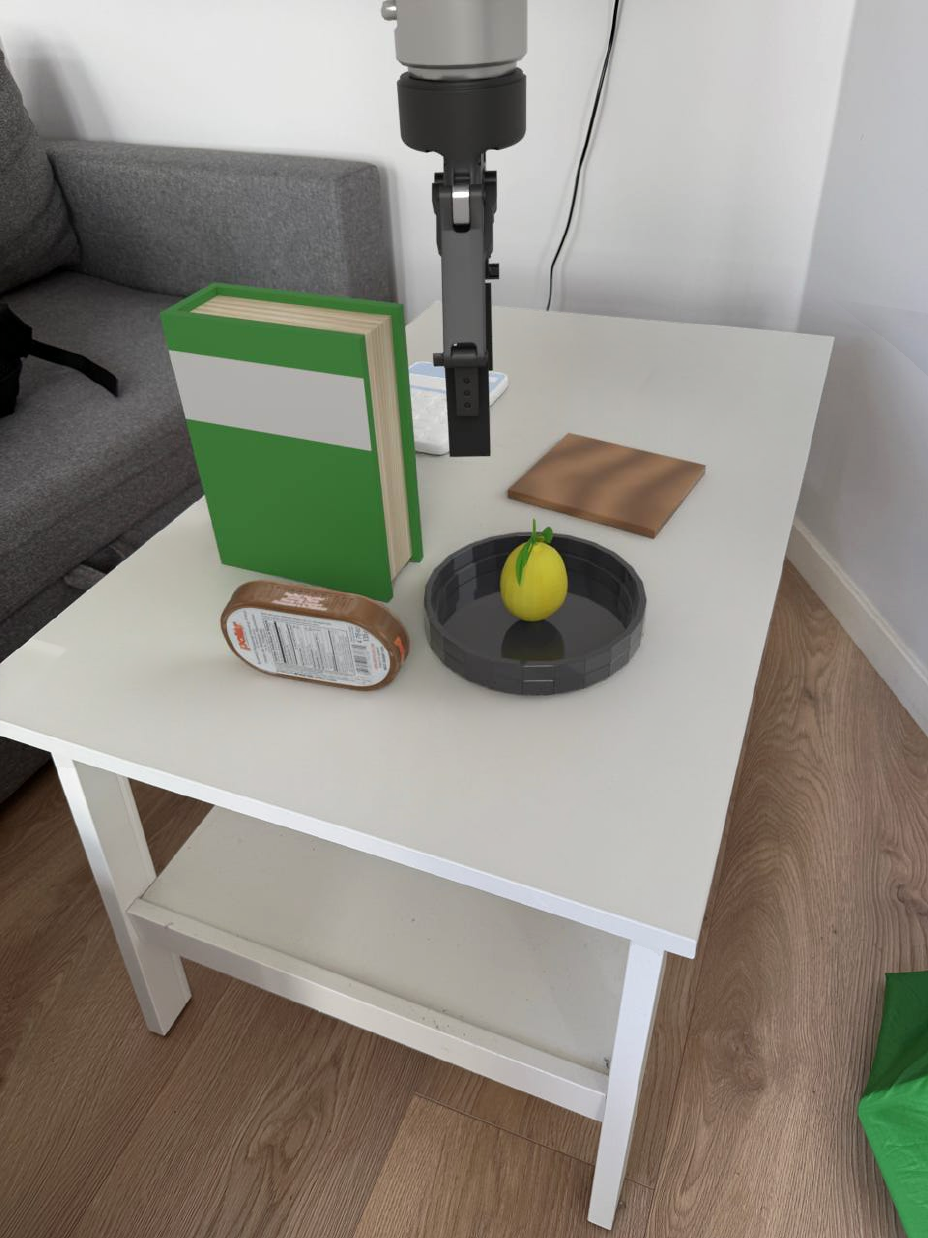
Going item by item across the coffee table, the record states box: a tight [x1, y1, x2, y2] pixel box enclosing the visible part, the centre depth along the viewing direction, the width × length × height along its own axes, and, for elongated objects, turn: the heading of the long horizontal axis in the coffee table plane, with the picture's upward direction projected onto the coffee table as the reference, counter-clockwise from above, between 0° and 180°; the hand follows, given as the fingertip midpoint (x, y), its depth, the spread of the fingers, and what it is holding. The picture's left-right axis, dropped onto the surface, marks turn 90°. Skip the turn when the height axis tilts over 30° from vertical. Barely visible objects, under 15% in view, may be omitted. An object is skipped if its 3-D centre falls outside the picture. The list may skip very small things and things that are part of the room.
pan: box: [423, 531, 648, 697], centre depth 77 cm, size 18×18×4 cm
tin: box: [219, 579, 411, 692], centre depth 71 cm, size 15×3×8 cm, turn 74°
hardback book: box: [159, 281, 424, 603], centre depth 79 cm, size 18×7×24 cm, turn 67°
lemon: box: [500, 518, 568, 621], centre depth 74 cm, size 7×6×10 cm
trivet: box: [507, 432, 707, 539], centre depth 95 cm, size 16×14×1 cm
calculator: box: [408, 361, 509, 456], centre depth 109 cm, size 13×20×2 cm, turn 156°
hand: (473, 408), depth 66 cm, fingers open, 13 cm apart
